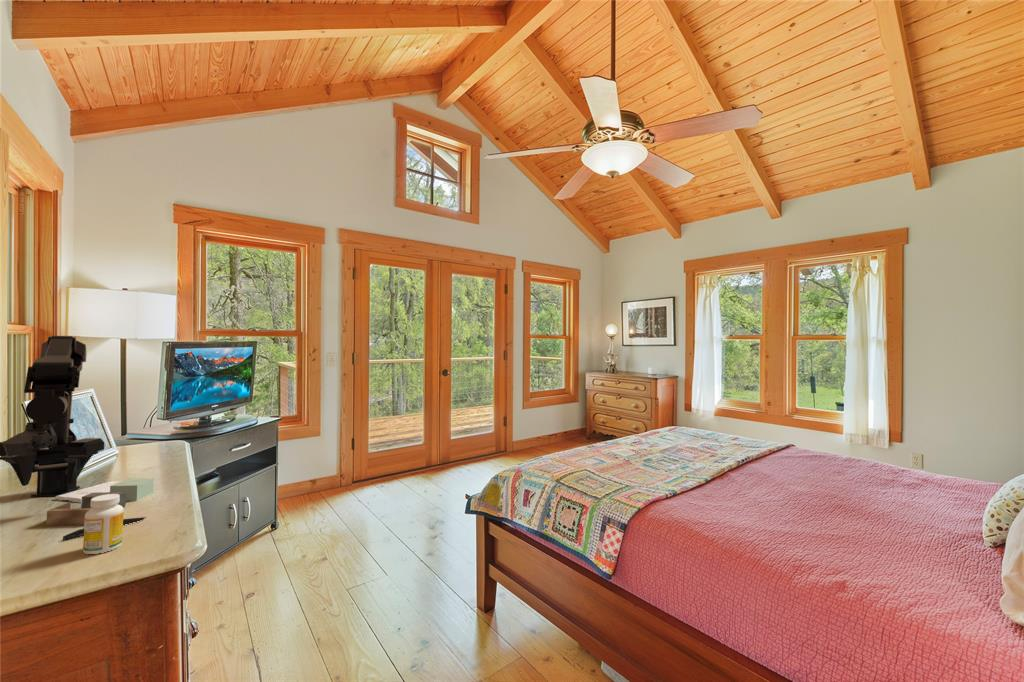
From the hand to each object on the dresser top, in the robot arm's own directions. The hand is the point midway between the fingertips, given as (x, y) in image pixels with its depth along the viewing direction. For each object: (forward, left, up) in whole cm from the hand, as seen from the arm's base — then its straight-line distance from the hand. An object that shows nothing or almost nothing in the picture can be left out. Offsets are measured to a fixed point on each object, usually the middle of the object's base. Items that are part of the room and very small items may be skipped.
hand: (48, 484), depth 99 cm
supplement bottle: (+27, -21, -6) cm, 35 cm away
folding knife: (+21, -12, -7) cm, 25 cm away
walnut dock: (+12, -6, -6) cm, 14 cm away
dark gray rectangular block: (+12, 0, -6) cm, 13 cm away
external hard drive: (+1, +13, -7) cm, 15 cm away
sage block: (+12, +9, -6) cm, 16 cm away
